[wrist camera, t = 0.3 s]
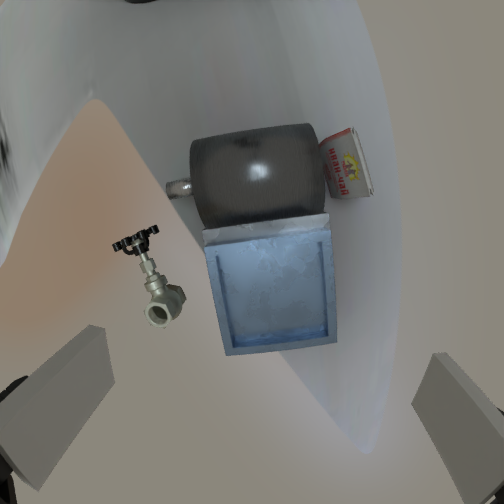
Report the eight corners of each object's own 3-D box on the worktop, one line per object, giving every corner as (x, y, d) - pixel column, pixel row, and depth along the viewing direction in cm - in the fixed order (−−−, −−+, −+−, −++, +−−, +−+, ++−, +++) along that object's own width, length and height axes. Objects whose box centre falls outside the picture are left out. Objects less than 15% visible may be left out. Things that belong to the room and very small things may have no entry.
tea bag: (342, 140, 33) (369, 123, 23) (357, 190, 34) (389, 191, 24) (316, 146, 33) (334, 130, 23) (331, 197, 34) (355, 200, 25)
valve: (200, 302, 38) (165, 221, 36) (188, 323, 32) (145, 228, 30) (161, 315, 39) (126, 239, 37) (144, 336, 33) (102, 248, 30)
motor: (176, 153, 34) (145, 141, 24) (308, 132, 33) (324, 111, 23) (211, 338, 39) (195, 379, 29) (329, 324, 38) (346, 364, 28)
